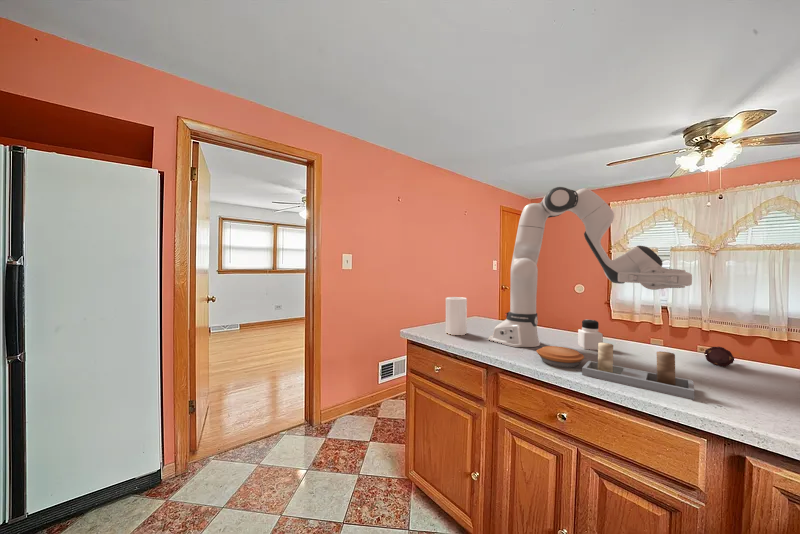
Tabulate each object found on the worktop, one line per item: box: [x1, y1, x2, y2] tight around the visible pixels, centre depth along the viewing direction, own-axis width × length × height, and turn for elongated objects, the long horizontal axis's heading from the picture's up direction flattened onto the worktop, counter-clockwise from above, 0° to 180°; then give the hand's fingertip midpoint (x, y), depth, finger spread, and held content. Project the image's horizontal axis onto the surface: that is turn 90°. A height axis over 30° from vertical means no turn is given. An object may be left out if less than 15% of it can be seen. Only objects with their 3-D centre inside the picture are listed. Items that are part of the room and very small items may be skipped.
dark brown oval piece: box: [704, 346, 735, 368], centre depth 107 cm, size 7×7×15 cm
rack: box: [581, 360, 695, 401], centre depth 92 cm, size 26×10×2 cm, turn 47°
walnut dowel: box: [656, 350, 676, 386], centre depth 87 cm, size 4×4×10 cm
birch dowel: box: [597, 342, 614, 373], centre depth 97 cm, size 4×4×10 cm
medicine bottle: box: [577, 319, 604, 351], centre depth 130 cm, size 7×7×12 cm
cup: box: [445, 296, 468, 336], centre depth 156 cm, size 11×11×18 cm
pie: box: [536, 345, 585, 369], centre depth 110 cm, size 16×16×5 cm
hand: (651, 278), depth 102 cm, fingers open, 8 cm apart
